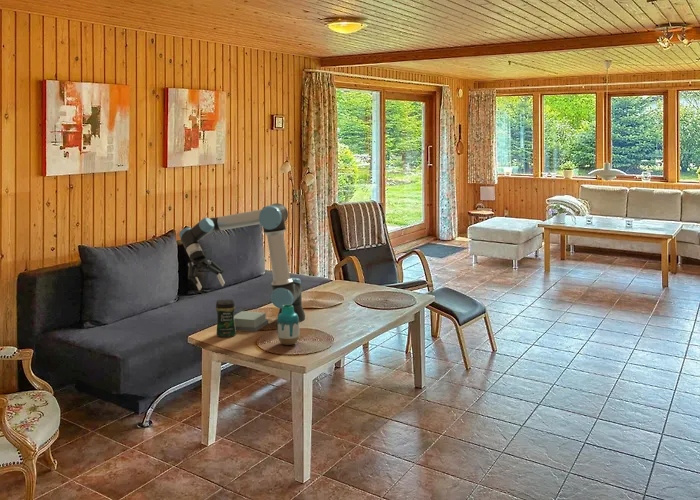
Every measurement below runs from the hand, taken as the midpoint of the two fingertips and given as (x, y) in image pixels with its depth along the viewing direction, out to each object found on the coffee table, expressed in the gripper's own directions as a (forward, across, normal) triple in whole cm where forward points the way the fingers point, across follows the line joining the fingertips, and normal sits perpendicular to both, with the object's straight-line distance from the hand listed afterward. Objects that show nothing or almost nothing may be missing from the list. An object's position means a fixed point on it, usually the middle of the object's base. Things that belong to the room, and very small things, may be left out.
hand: (212, 286), depth 329 cm
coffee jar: (+24, -1, -9) cm, 26 cm away
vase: (+48, -14, +15) cm, 52 cm away
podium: (+21, -17, -12) cm, 30 cm away
